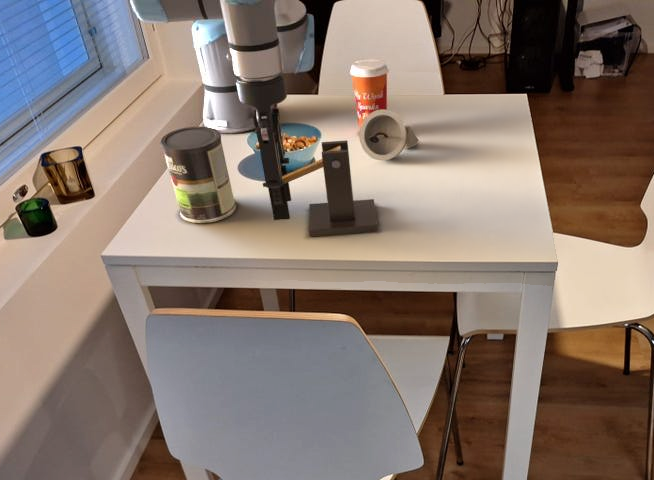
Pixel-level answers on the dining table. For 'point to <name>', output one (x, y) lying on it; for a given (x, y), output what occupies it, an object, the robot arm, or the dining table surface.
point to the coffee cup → (369, 86)
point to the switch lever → (306, 169)
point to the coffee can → (199, 174)
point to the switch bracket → (340, 198)
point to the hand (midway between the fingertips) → (282, 209)
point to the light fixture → (385, 135)
